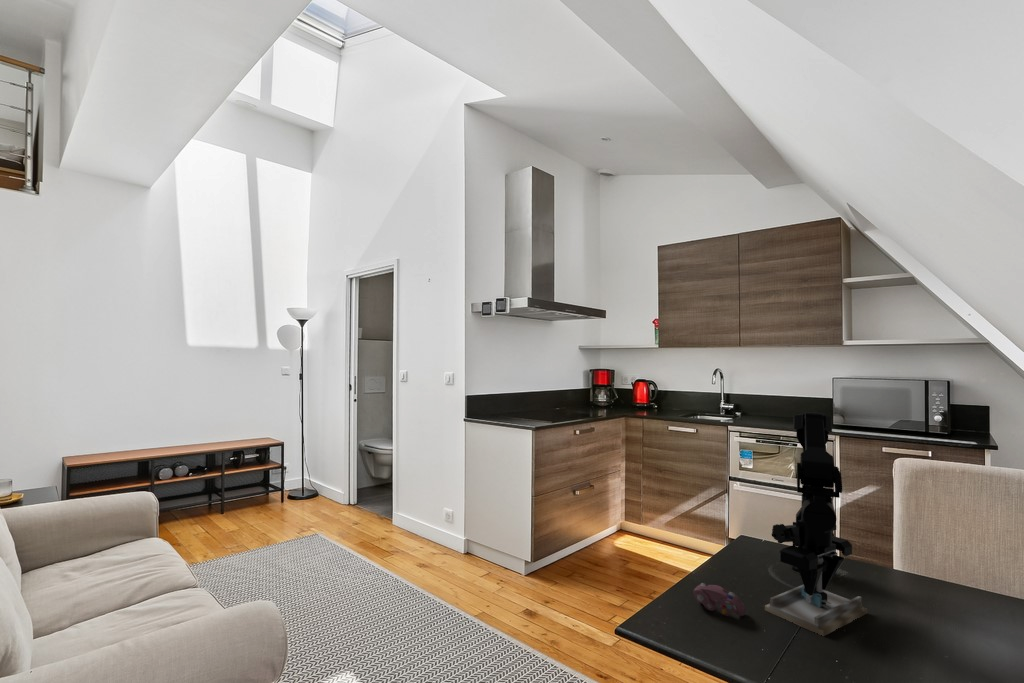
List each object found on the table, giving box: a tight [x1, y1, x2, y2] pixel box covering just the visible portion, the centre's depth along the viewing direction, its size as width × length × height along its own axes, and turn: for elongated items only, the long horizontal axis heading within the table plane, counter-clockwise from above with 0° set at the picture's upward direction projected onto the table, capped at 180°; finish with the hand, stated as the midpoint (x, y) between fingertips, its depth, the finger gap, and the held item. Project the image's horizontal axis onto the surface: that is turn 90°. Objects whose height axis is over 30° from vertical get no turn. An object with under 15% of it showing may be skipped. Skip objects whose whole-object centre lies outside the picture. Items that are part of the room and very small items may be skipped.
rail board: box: [764, 584, 868, 637], centre depth 111 cm, size 18×12×3 cm, turn 123°
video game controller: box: [692, 582, 746, 617], centre depth 110 cm, size 10×5×7 cm, turn 48°
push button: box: [801, 556, 831, 609], centre depth 112 cm, size 7×5×10 cm
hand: (816, 591), depth 111 cm, fingers open, 5 cm apart
